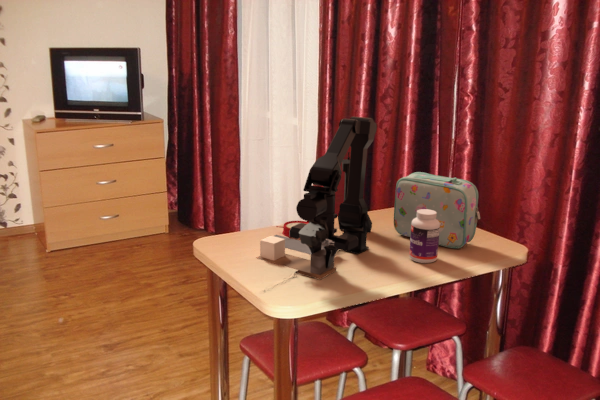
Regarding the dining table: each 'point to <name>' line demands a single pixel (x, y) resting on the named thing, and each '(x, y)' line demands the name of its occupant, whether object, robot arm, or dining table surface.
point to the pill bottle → (424, 237)
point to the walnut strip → (306, 264)
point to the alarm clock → (289, 224)
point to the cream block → (272, 248)
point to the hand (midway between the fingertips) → (322, 266)
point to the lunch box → (438, 206)
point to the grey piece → (299, 244)
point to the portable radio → (346, 174)
